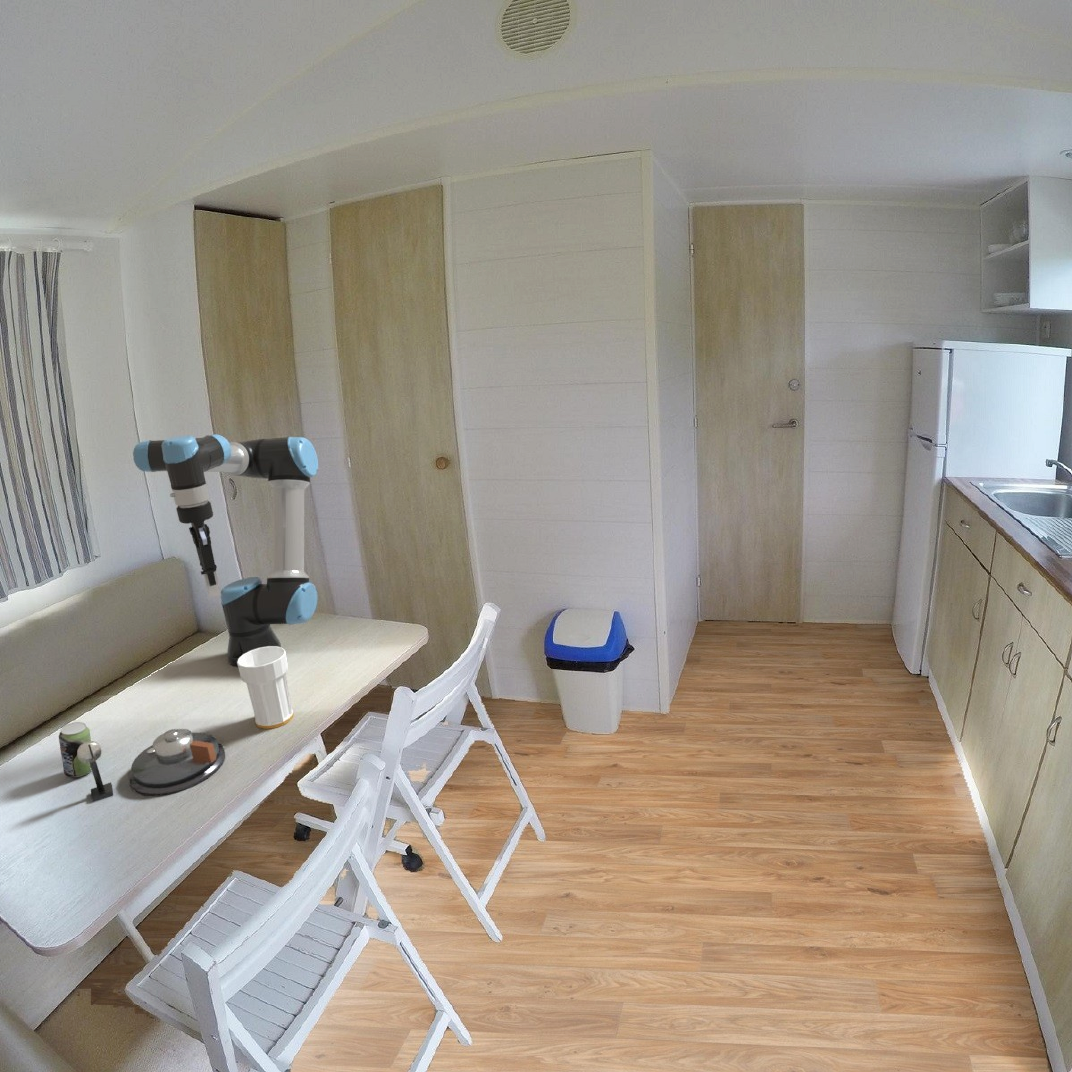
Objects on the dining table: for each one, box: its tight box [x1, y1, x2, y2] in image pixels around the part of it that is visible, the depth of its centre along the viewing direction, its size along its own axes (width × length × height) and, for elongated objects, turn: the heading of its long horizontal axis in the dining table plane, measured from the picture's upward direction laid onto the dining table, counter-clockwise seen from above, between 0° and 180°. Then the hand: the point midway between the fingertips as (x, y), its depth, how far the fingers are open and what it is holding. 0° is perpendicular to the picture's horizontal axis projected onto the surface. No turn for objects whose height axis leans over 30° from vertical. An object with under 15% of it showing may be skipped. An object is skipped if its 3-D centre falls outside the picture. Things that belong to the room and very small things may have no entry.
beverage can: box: [58, 721, 92, 778], centre depth 174 cm, size 6×7×12 cm
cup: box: [237, 646, 294, 730], centre depth 189 cm, size 11×11×17 cm
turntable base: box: [128, 742, 226, 797], centre depth 174 cm, size 20×20×1 cm
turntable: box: [130, 732, 220, 788], centre depth 173 cm, size 18×20×6 cm
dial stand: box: [77, 740, 114, 803], centre depth 165 cm, size 4×4×13 cm
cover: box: [152, 728, 194, 764], centre depth 173 cm, size 8×8×6 cm
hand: (215, 596), depth 187 cm, fingers closed
